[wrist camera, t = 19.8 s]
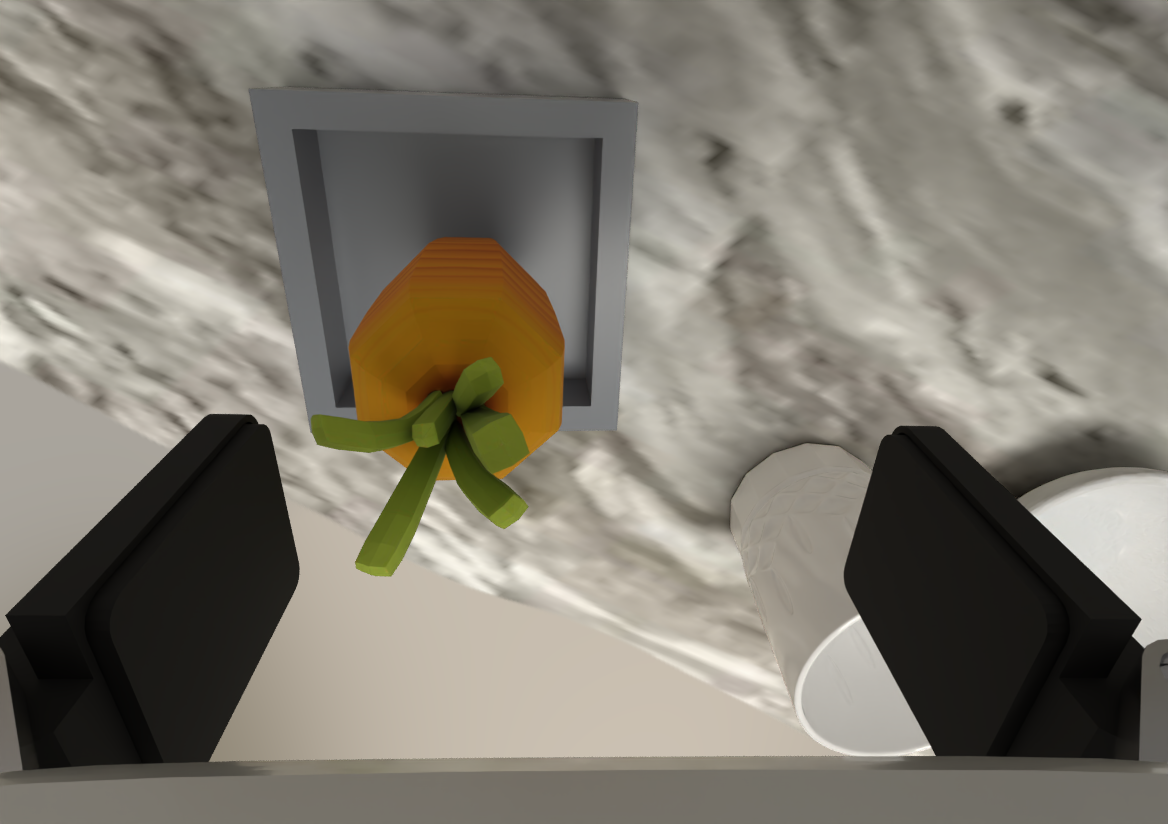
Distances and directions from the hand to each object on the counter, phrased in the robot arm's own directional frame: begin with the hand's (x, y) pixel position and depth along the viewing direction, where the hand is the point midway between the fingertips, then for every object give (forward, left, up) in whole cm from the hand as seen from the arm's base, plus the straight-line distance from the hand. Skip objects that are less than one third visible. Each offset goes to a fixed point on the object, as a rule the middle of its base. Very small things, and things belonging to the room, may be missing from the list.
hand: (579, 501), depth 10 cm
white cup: (-12, +11, -16) cm, 23 cm away
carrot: (+3, 0, -15) cm, 15 cm away
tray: (+3, 0, -16) cm, 16 cm away
